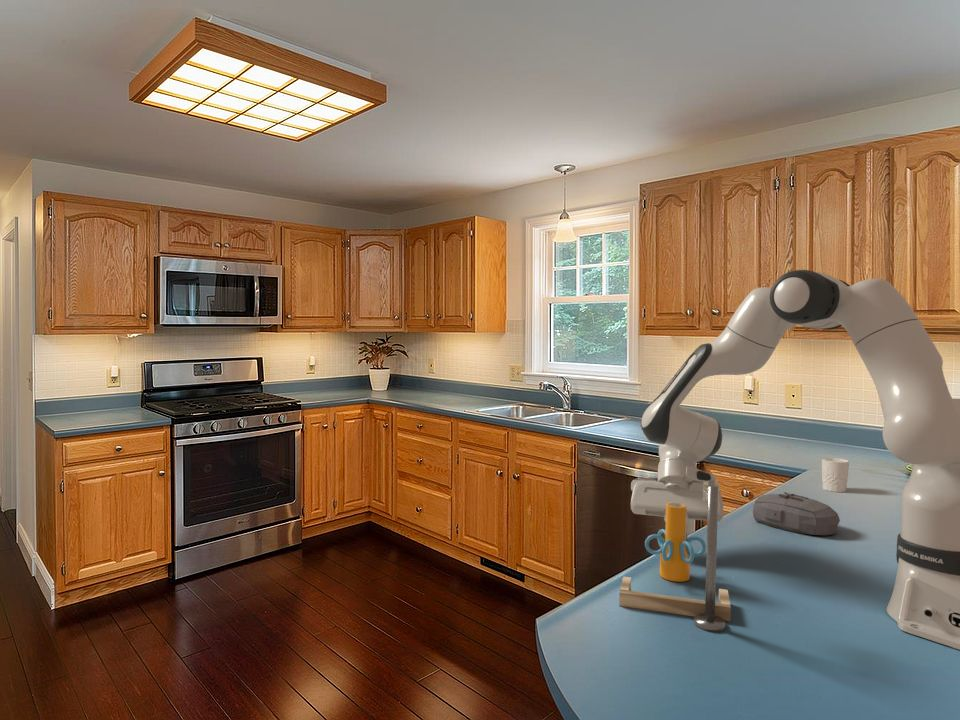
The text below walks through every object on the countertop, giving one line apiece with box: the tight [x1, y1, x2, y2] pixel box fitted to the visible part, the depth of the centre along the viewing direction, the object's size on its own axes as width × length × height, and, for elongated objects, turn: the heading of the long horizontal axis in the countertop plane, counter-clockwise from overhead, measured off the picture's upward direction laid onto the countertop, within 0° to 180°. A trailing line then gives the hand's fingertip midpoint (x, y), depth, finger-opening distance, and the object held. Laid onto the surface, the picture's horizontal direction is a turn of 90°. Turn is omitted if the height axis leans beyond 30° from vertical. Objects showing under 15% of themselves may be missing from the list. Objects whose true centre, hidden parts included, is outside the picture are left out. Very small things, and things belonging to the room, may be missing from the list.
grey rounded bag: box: [752, 491, 841, 536], centre depth 163 cm, size 15×8×20 cm
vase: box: [644, 502, 707, 583], centre depth 127 cm, size 12×10×15 cm
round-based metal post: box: [693, 480, 726, 633], centre depth 108 cm, size 11×5×24 cm, turn 162°
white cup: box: [821, 457, 850, 493], centre depth 203 cm, size 8×8×10 cm
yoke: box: [618, 576, 732, 622], centre depth 114 cm, size 8×19×2 cm, turn 72°
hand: (675, 533), depth 137 cm, fingers closed
